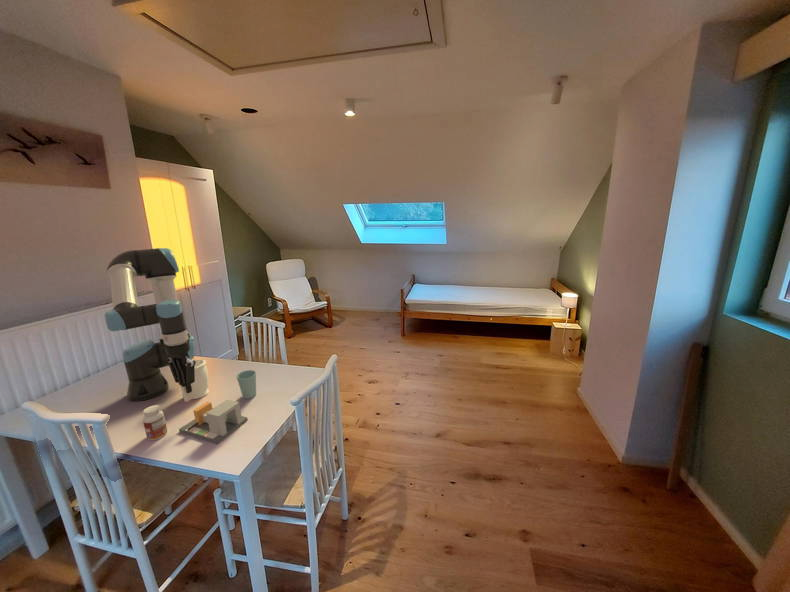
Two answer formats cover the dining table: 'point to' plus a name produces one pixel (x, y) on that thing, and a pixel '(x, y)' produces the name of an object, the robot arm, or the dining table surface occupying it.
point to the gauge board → (206, 427)
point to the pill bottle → (154, 423)
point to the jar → (200, 379)
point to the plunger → (201, 414)
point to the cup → (247, 383)
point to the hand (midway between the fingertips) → (188, 399)
